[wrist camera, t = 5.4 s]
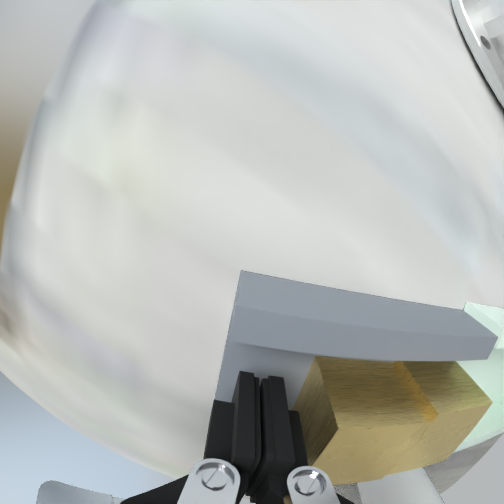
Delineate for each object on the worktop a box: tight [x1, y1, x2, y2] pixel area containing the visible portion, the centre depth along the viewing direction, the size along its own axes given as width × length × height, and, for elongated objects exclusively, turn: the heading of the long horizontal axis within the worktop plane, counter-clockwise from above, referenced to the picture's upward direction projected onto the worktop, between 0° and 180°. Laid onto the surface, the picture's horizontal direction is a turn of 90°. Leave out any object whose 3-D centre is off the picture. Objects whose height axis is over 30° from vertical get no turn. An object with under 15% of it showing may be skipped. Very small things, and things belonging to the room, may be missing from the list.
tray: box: [453, 302, 504, 453], centre depth 11 cm, size 9×13×3 cm
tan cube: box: [386, 361, 493, 475], centre depth 9 cm, size 4×4×4 cm
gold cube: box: [292, 355, 434, 485], centre depth 9 cm, size 4×4×4 cm
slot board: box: [215, 270, 498, 410], centre depth 11 cm, size 8×12×3 cm
